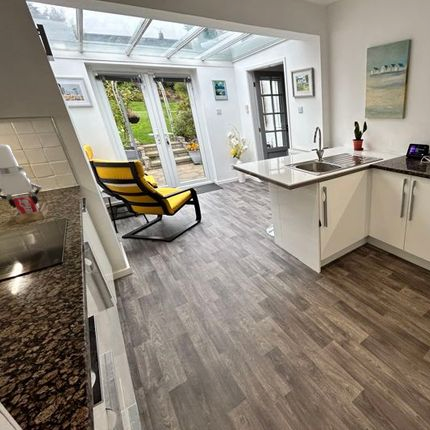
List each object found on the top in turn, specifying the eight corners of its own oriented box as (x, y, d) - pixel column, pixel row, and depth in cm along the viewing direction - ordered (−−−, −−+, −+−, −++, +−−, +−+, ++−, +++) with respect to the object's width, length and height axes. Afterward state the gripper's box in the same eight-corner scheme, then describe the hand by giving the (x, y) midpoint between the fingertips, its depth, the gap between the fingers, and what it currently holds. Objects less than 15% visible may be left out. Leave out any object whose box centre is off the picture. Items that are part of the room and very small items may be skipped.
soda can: (22, 221, 132) (11, 199, 127) (22, 218, 136) (11, 196, 132) (42, 217, 137) (31, 195, 132) (41, 214, 141) (31, 192, 137)
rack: (18, 225, 130) (13, 216, 129) (24, 215, 144) (20, 206, 142) (45, 219, 136) (41, 211, 135) (48, 210, 150) (45, 202, 148)
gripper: (35, 166, 135) (50, 199, 142) (-17, 172, 124) (2, 207, 131) (33, 168, 130) (48, 202, 136) (-21, 175, 119) (-1, 211, 126)
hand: (25, 204), depth 134 cm, fingers closed on soda can, 7 cm apart
